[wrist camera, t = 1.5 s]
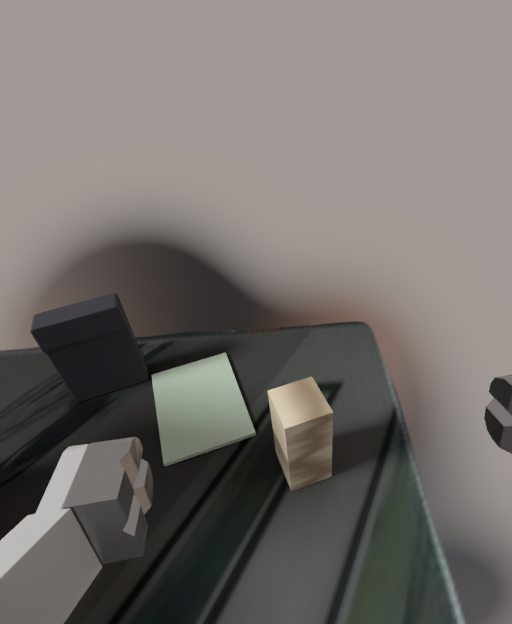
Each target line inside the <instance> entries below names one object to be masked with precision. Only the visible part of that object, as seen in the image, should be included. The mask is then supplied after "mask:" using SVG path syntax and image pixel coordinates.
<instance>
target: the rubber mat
mask: <svg viewBox="0 0 512 624" xmlns="http://www.w3.org/2000/svg"><path fill="white" fill-rule="evenodd" d="M151 376H152V383H153V391H154V398H155V405H156V413H157V420H158V428H159V435H160V442H161V450H162V457H163V464H164V466H168V465H171V464H174V463H177V462H180V461H183V460H186V459H189V458H192V457H195V456H197V455H200V454H203V453H206V452H209V451H212V450H215V449H218V448H221V447H224V446H227V445H229V444H232V443H235V442H238V441H241V440H244V439H247V438H250V437H253V436H256V432H255V429H254V427H253V424H252V421H251V419H250V416H249V413H248V411H247V408H246V405H245V403H244V400H243V397H242V395H241V392H240V389H239V387H238V384H237V381H236V379H235V376H234V373H233V371H232V368H231V365H230V363H229V360H228V357H227V355H226V352H225V353H222V354H219V355H215V356H212V357H209V358H205V359H202V360H199V361H195V362H192V363H189V364H185V365H182V366H179V367H175V368H172V369H169V370H165V371H162V372H159V373H155V374H152V375H151Z"/></svg>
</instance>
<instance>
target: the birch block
mask: <svg viewBox="0 0 512 624" xmlns="http://www.w3.org/2000/svg"><path fill="white" fill-rule="evenodd" d="M268 398H269V405H270V412H271V420H272V427H273V434H274V441H275V449H276V455H277V457H278V460H279V462H280V465H281V467H282V470H283V472H284V475H285V477H286V480H287V482H288V485H289V487H290V490H291V492H292V491H295V490H298V489H300V488H303V487H306V486H308V485H311V484H314V483H316V482H319V481H321V480H324V479H327V478H329V477H332V438H333V411H332V410H331V408H330V406H329V405H328V403H327V401H326V400H325V398H324V396H323V395H322V393H321V391H320V390H319V388H318V386H317V384H316V383H315V381H314V379H313V378H312V376H311V377H308V378H305V379H302V380H299V381H296V382H293V383H290V384H287V385H284V386H281V387H278V388H274V389H271V390H268Z"/></svg>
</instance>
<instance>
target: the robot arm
mask: <svg viewBox="0 0 512 624" xmlns="http://www.w3.org/2000/svg"><path fill="white" fill-rule="evenodd" d="M489 392H490V393H491V395H492V396H493V397H494V399H493V400H492V401H491V402H490V403H489V404H488V405H487V406H486V411H485V422H486V426H487V430H488V432H489V434H490V435H491V437H492V439H493V440H494V441H495V443H496V444H497V445H498V446H499V447H500V448H502V449H504V450H506V451H508V452H510V453H511V454H512V375H507V376H502V377H496V378H494V380H493V381H492V382H491V385H490V390H489ZM142 452H143V447H142V445H141V442H140V440H139V438H137V437H131V438H123V439H116V440H109V441H102V442H95V443H91V444H85V445H77V446H69V447H68V448H67V449H66V450H65V451H64V452H63V453H62V456H61V458H60V460H59V462H58V464H57V467H56V469H55V471H54V473H53V475H52V478H51V480H50V482H49V484H48V486H47V489H46V491H45V493H44V495H43V498H42V500H41V502H40V504H39V506H38V509H37V511H36V513H35V514H32V515H27V516H26V517H25V518H24V519H23V520H22V521H21V522H20V523H19V524H18V525H17V526H16V527H14V528H13V529H12V530H11V531H10V532H9V533H8V534H7V535H6V536H5V537H4V538H3V539H1V540H0V624H64V623H65V621H66V620H67V618H68V617H69V615H70V614H71V612H72V611H73V609H74V608H75V607H76V605H77V604H78V602H79V601H80V599H81V598H82V596H83V595H84V593H85V592H86V590H87V589H88V588H89V586H90V585H91V583H92V582H93V580H94V579H95V577H96V576H97V574H98V573H99V571H100V570H101V568H102V564H107V563H112V562H117V561H122V560H127V559H132V558H137V557H142V556H143V554H144V548H145V542H146V536H147V530H148V523H147V521H146V518H145V516H144V515H145V513H146V512H147V511H148V510H149V508H150V507H151V506H152V499H153V478H152V472H151V469H150V466H149V463H148V462H147V461H145V460H143V459H142V458H141V457H142Z"/></svg>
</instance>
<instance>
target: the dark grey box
mask: <svg viewBox="0 0 512 624" xmlns="http://www.w3.org/2000/svg"><path fill="white" fill-rule="evenodd" d="M31 334H32V335H33V337H34V339H35V340H36V342H37V343H38V345H39V346H40V348H41V350H42V351H43V352H44V353H46V354H47V356H48V357H49V359H50V360H51V362H52V364H53V365H54V367H55V368H56V370H57V372H58V373H59V375H60V377H61V378H62V380H63V381H64V383H65V385H66V386H67V388H68V389H69V391H70V393H71V394H72V396H73V397H74V399H75V401H76V402H81V401H84V400H87V399H91V398H94V397H97V396H100V395H103V394H106V393H110V392H113V391H116V390H119V389H122V388H125V387H128V386H132V385H135V384H138V383H141V382H144V381H147V380H148V379H149V377H148V371H147V366H146V363H145V361H144V358H143V356H142V353H141V351H140V348H139V346H138V344H137V341H136V339H135V336H134V334H133V332H132V329H131V326H130V324H129V322H128V319H127V317H126V314H125V312H124V310H123V307H122V305H121V302H120V300H119V297H118V295H117V294H115V293H113V294H109V295H105V296H102V297H98V298H94V299H91V300H87V301H83V302H80V303H76V304H72V305H68V306H65V307H61V308H57V309H53V310H50V311H46V312H42V313H39V314H36V315H34V318H33V322H32V327H31Z"/></svg>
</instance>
